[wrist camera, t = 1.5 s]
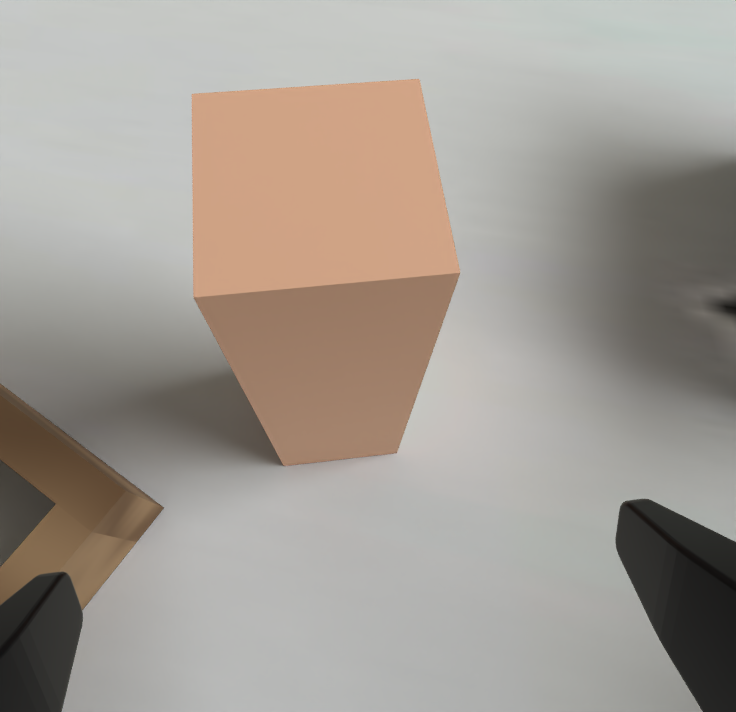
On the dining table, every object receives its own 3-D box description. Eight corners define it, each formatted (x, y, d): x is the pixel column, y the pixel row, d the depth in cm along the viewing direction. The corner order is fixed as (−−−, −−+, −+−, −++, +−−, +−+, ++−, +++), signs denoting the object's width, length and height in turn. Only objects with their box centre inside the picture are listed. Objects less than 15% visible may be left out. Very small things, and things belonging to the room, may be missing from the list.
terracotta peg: (396, 453, 23) (460, 273, 10) (283, 466, 22) (193, 297, 9) (381, 349, 24) (419, 79, 11) (276, 360, 24) (192, 94, 11)
